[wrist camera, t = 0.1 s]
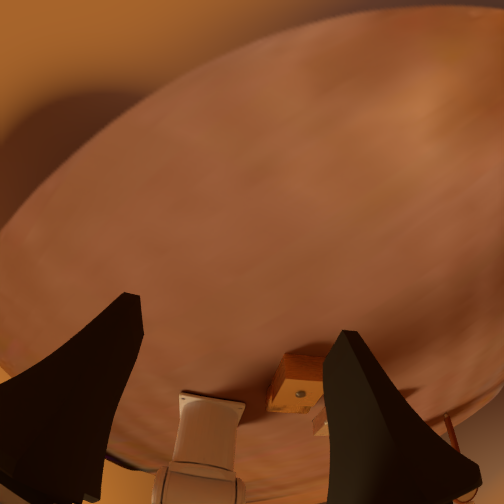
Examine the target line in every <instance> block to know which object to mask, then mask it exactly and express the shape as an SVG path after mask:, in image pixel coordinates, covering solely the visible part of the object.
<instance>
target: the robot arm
mask: <svg viewBox="0 0 504 504" xmlns="http://www.w3.org/2000/svg"><path fill="white" fill-rule="evenodd" d="M143 336H144V331H143V322H142V313H141V302H140V296H139V295H134V294H130V293H126V292H124V293H122V294H121V295H120V296H119V297H118V298H117V299H115V300H114V301H113V302H112V303H111V304H110V305H109V306H108V307H107V308H106V309H104V310H103V311H102V312H101V313H100V314H99V315H98V316H97V317H96V318H94V319H93V320H92V321H91V322H90V323H89V324H88V325H86V326H85V327H84V328H83V329H82V330H81V331H80V332H78V333H77V334H76V335H75V336H73V337H72V338H71V339H70V340H69V341H67V342H66V343H65V344H64V345H62V346H61V347H60V348H58V349H57V350H56V351H54V352H53V353H52V354H50V355H49V356H47V357H46V358H45V359H43V360H42V361H40V362H39V363H37V364H35V365H34V366H32V367H31V368H29V369H27V370H26V371H24V372H22V373H21V374H19V375H17V376H15V377H13V378H11V379H9V380H8V381H6V382H3V383H1V384H0V504H72V503H74V504H82V501H83V500H86V501H88V502H91V503H94V502H97V501H99V500H100V496H101V483H102V474H103V467H104V460H105V454H106V449H107V444H108V439H109V434H110V430H111V426H112V422H113V418H114V415H115V412H116V409H117V406H118V403H119V401H120V398H121V396H122V393H123V391H124V388H125V386H126V383H127V381H128V379H129V376H130V374H131V371H132V369H133V367H134V364H135V362H136V359H137V356H138V353H139V350H140V346H141V343H142V339H143ZM323 392H324V400H325V407H326V414H327V422H328V430H329V438H330V474H329V488H328V497H327V504H453V500H455V499H457V498H459V497H461V496H463V495H465V494H467V493H469V492H471V491H473V490H475V489H477V488H478V487H480V486H481V485H482V478H481V473H480V469H479V466H478V464H476V463H475V462H473V461H471V460H470V459H468V458H467V457H465V456H464V455H462V454H461V453H459V452H458V451H457V450H455V449H454V448H453V447H452V446H450V445H449V444H448V443H447V442H445V441H444V440H443V439H442V438H441V437H440V436H439V435H437V434H436V433H435V432H434V431H433V430H432V429H431V428H430V427H429V426H428V425H427V424H426V423H425V422H424V421H423V420H422V419H421V418H420V416H419V415H418V414H417V413H416V412H415V411H414V410H413V409H412V407H411V406H410V405H409V404H408V403H407V401H406V400H405V399H404V397H403V396H402V395H401V394H400V392H399V391H398V390H397V388H396V387H395V386H394V384H393V383H392V382H391V380H390V379H389V377H388V376H387V374H386V373H385V372H384V370H383V369H382V367H381V366H380V364H379V363H378V361H377V360H376V358H375V357H374V355H373V354H372V352H371V351H370V349H369V348H368V346H367V345H366V343H365V342H364V340H363V339H362V338H361V336H360V335H359V333H358V332H357V331H348V330H342V331H341V333H340V335H339V337H338V338H337V340H336V342H335V343H334V345H333V347H332V348H331V350H330V352H329V353H328V355H327V357H326V358H325V360H324V362H323ZM179 404H180V423H179V428H178V433H177V438H176V443H175V448H174V454H173V459H172V462H171V461H170V463H169V467H168V466H163V467H162V468H160V469H158V471H157V474H156V477H155V481H154V486H153V493H152V504H245V502H246V487H245V484H244V482H243V481H242V480H241V479H240V478H236V472H233V469H234V457H235V445H236V433H237V426H238V423H239V421H240V418H241V416H242V414H243V411H244V409H245V403H242V402H234V401H227V400H221V399H215V398H209V397H203V396H198V395H193V394H188V393H180V395H179ZM466 504H475V503H474V501H470V502H468V503H466Z"/></svg>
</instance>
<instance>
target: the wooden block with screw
mask: <svg viewBox="0 0 504 504" xmlns="http://www.w3.org/2000/svg"><path fill="white" fill-rule="evenodd" d="M325 358H326V357H316V356H305V355H296V354H287V353H284V356H283V358H282V360H281V362H280V364H279V367H278V369H277V371H276V373H275V375H274V377H273V379H272V385H270V386H269V388H268V390H267V394H266V402H265V407H266V411H271V412H284V413H301V414H307V413H308V412H309V410H310V408H311V406H314V405H315V403H316V402H317V401H318V400H319V398H320V397H321V396H322V395H323V393H324V392H323V362H324V360H325Z"/></svg>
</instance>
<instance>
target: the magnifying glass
mask: <svg viewBox="0 0 504 504" xmlns="http://www.w3.org/2000/svg"><path fill="white" fill-rule="evenodd" d="M444 417H445V419H444V421H445V424H446V427H447V431H448V434H449V438H450V441H451V445H452V447H453V448H454V449H455V450H457V451H458V452H459V453H460V450H459V446H458V442H457V439H456V435H455V432H454V429H453V426H452V422H451V419H450V416H449V417H448V414H445V415H444ZM477 491H478V488H477V489H475V490H473V491H471V492H469V493H467V494H465V495H463V496H461V497H459V498H457V499H455V500H453V501H454V502H455V503H457V504H465V503H468V502H469V501H471V500H472V499H473V498H474V496H475V495H476V493H477Z"/></svg>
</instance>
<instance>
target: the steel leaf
mask: <svg viewBox="0 0 504 504" xmlns="http://www.w3.org/2000/svg"><path fill="white" fill-rule="evenodd" d="M312 424H313V436H327V435H329V430H328V422H327V414H326V407H324V408H323V409H322V410H321V412H320V413H319V414H318V415H317V416H316V417H315V418H314V419H313V421H312Z"/></svg>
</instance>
